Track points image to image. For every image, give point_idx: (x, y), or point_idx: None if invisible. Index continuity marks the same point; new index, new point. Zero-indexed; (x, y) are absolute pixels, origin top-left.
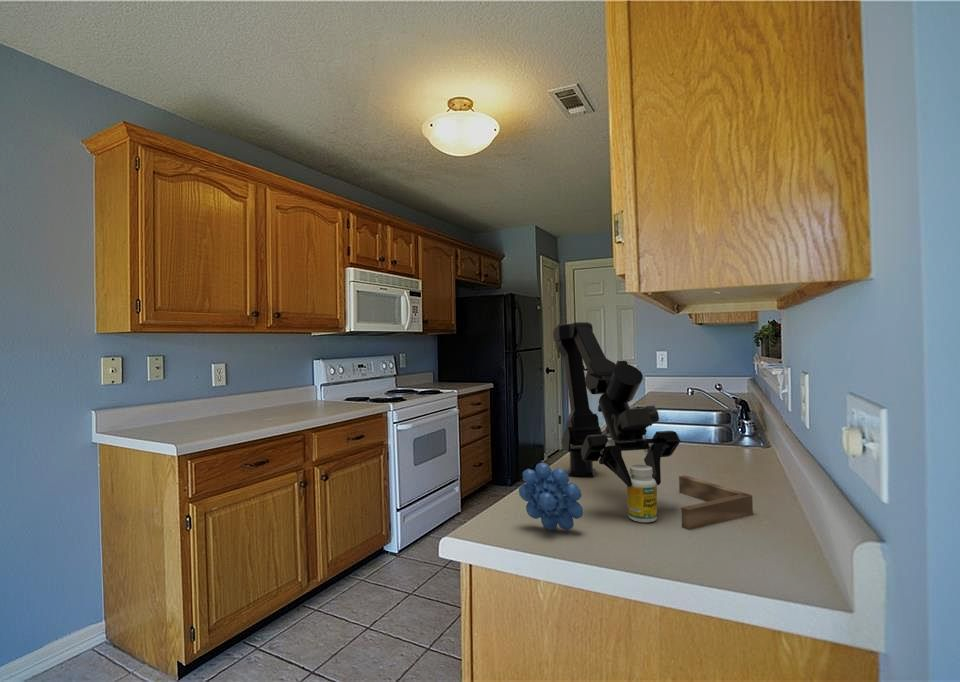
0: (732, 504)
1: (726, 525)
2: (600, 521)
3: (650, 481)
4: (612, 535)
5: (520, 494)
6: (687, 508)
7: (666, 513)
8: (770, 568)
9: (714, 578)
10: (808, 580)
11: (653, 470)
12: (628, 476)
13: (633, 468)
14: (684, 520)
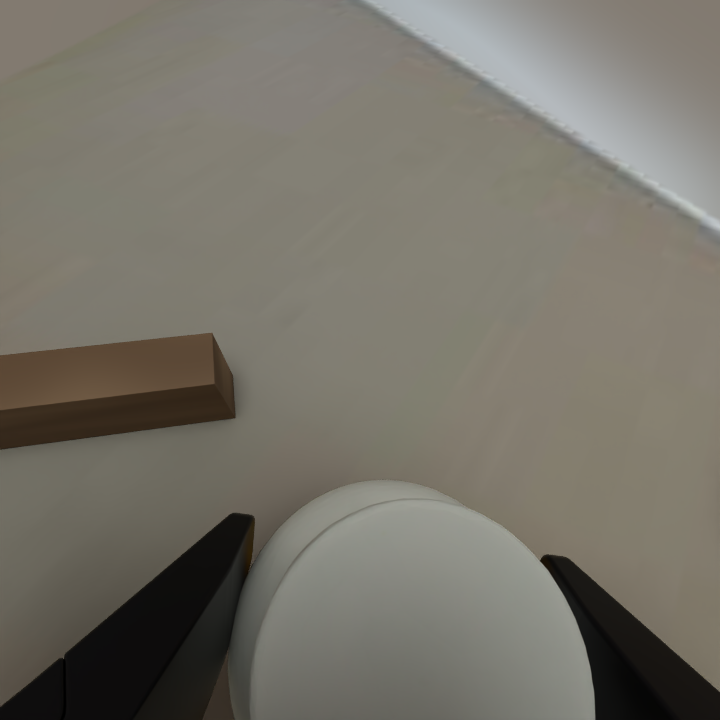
0: None
1: None
2: None
3: (366, 497)
4: (608, 442)
5: None
6: (198, 353)
7: None
8: (241, 75)
9: (432, 91)
10: (213, 16)
11: (187, 691)
12: (607, 610)
13: (575, 650)
14: (226, 390)
